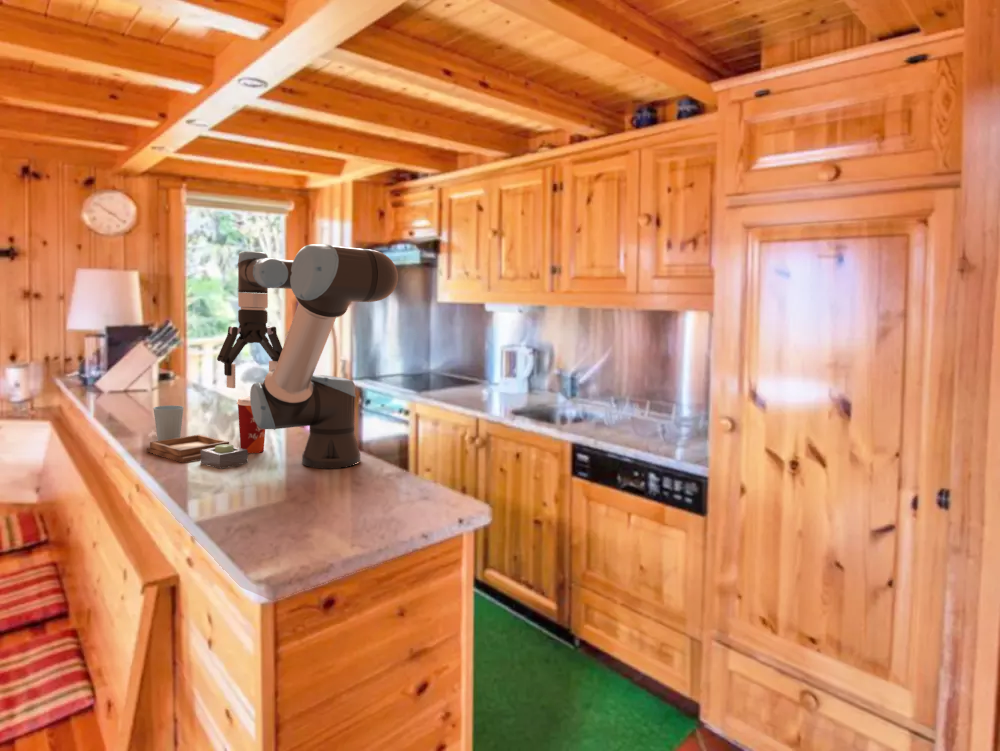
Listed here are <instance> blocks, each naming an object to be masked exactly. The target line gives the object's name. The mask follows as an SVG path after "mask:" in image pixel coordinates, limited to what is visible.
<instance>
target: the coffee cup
mask: <svg viewBox="0 0 1000 751" xmlns="http://www.w3.org/2000/svg"><path fill="white" fill-rule="evenodd" d="M236 405H237V409H238V410H237V412H238V427H239V429H238V430H239V443H240V446H239V447H240V448H243V449H247V450H248V454H259V453H262V452H264V450H265V439H266V429H262V428H260V427H258V425H257V424H256V422H255V420H254V417H253V414H252V409H251V402H250V396H240V397H239V398H238V399H237V401H236Z"/></svg>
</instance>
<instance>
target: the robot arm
mask: <svg viewBox="0 0 1000 751" xmlns="http://www.w3.org/2000/svg"><path fill="white" fill-rule="evenodd" d="M237 259H238V261H237V274H238V276H237V279H238V280H237V281H238V282H237V283H238V284H237V285H238V286H237V287H238V288H237V289H238V293H237V294H238V295H237V296H238V297H237V298H238V299H237V302H238V308H239V309H238V311H237V316H238V317H237V321H238V324H239V326H238V327H237V326H231V325H229V326H228V328H227V335H226V337H225V340H224V341H223V344H222V346H221V348H220V350H219V352H218V355H217V358H216V360H217V361H218V362H221V363H222V364H224V365H223V369H224V370H223V372H224V376H226V388H229V389H236V363H234V362H235V360H236V359H237V357H238V356H239V355H240V353H241V351H242V350H243V349H244V348H245V346H246V345H248V344H253V343H255V344H256V343H257V344H260V345H261V347H262V348H263V350H264V351H265V353H266V354H267V355H268V357H269V358H270V360H268V373H266V375H265V377H264V381H263V382H260V381H259V382H256V383H252V385H251V387H250V391H249V392H250V394H249V395H250V396H249V397H250V402H251V409H252V414H253V417H254V420H255V422H256V424H257V425H258V427H260V428H262V429H265V430H281V429H288V428H298V427H309V433H308V437H307V440H306V444H305V447H304V450H303V452H302V455H301V463H302V465H304V466H306V467H311V468H314V469H315V468H317V469H325V468H333V469H342V468H341V467H345V468H347V467H346V466H350V465H353V464H355V463H357V462H359V461H360V462H361V451H360V450H359V446H358V442H357V438H356V435H355V425H356V424H355V422H356V421H355V418H356V415H355V414H356V398H357V395H356V385H355V382H354V381H353V380H351V379H349V378H345V377H339V376H332V375H325V374H314V373H315V370H316V369H317V368H316V367H317V365H318V363H319V361H320V358H321V356H322V353H323V351H324V349H325V346H326V344H327V341H328V339H329V336H330V334H331V331H332V329H333V326H334V324H335V321H336V319H337V318H340V317H342V316H344V315H345V314H346V313H347V312H348V311H347V310H348V308H349V307H350V303H352V302H356V303H359V302H361V303H372V302H379V301H382V300H384V299H386V298H388V297H389V296H390V295H391V294H392V293H393V292H394V291H395V289H396V287H397V286H398V283H399V282H398V280H399V275H398V274H399V273H398V269H397V267H396V264H395V263H394V261H393V260H392V259H391V258H390V257H389V256H387V255H386V254H385V253H383V252H380V251H379V250H374V249H370V248H369V249H368V248H356V247H345V246H337V245H331V244H328V243H321V244H313V243H312V244H307V245H305V246H303V247H302V248H301V249H300V250H299V251H298V252H297V253H296V255H295V256H294V258H293V260H290V259H279V258H275V257H268V254H267V253H265V252H264V251H263V252H261V251H251V250H250V251H249V250H247V251H246V250H244V251H240V252H239V253H238V258H237ZM269 289H284V290H285V289H287V290H289V289H290V290H291V291H292V293H293V295H294V297H295V300H296V302H297V303H298V305H297V307H296V310H295V313H294V315H293V318H292V321H291V324H290V327H289V330H288V332H287V336H286V337H285V341H284V344H283V346H282V344H281V342H280V339H279V336H278V333H277V327H276V326H271V325H268V326H267V323H268V317H269V316H268V313H269V312H268V311H267V310H266V309H267V308H268V304H269V303H268V302H269V300H268V297H269V295H268V293H269V292H268V290H269ZM238 335H239V336H238ZM350 467H351V466H350Z"/></svg>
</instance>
